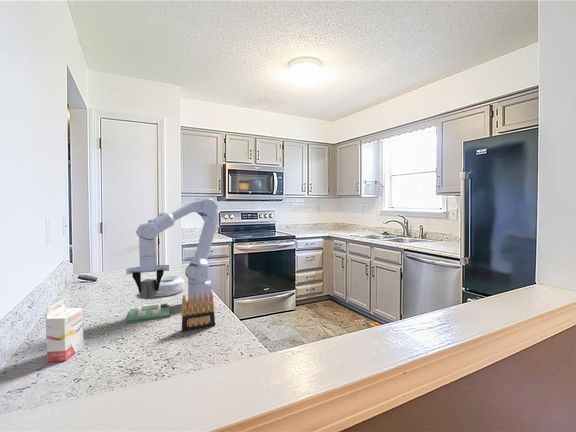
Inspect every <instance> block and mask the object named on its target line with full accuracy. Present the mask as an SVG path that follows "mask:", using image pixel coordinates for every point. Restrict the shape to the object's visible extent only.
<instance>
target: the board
mask: <svg viewBox="0 0 576 432" xmlns="http://www.w3.org/2000/svg"><path fill="white" fill-rule="evenodd" d="M170 317H171V316H170V304H168V303H162V304H161V303H153V304H146V305H140V306H139V305H138V307H137V308H131V309H129V313H128V315H127V319H126V324H131V323H137V322H139V323H140V322H144V321H145V322H146V321H151V320H158V319H159V320H160V319H166V318H170Z"/></svg>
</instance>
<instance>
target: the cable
mask: <svg viewBox="0 0 576 432" xmlns="http://www.w3.org/2000/svg"><path fill="white" fill-rule="evenodd" d="M152 279H157V277H154V278H152ZM185 287H186V284H185V281H184V278H183V277H182V276H180V275H163V276H162V278H161V281H160V284H159V291H157V295H156V296H155V297H167V296H172V295H175V294H178V293H180V292H182V291H183V290H184V289H185Z"/></svg>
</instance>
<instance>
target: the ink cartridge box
mask: <svg viewBox="0 0 576 432" xmlns="http://www.w3.org/2000/svg"><path fill="white" fill-rule="evenodd" d="M67 301H68V300H67V298H64V299H62V300H59V301H58V302H56V303H55V302H54V303H53V304H52V305H50V306H47V307H46V311H45V313H46V314H45V336H46V339H45V340H46V361H47V363H51V362H66V361H67V360H68V359H70V358H71V357H72V356H74V355H75V354H76V353H78V352H79V351H80V350H82V349H83V348H84V317H83V315H84V312H83V311H84V310H83V309H84V308H83V307H76V308H75V307H74V308H73V307H71V308H70V307H69V308H67ZM56 307H58V308H56ZM55 308H56V309H55Z"/></svg>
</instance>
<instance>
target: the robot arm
mask: <svg viewBox="0 0 576 432" xmlns="http://www.w3.org/2000/svg"><path fill="white" fill-rule="evenodd" d="M218 209H219V206H218V204H217V202H216V201H215V200H214V199H213V198H210V197H207V198H201V197H199V198H196V199H195V200H191V201H189V202H188V203H186V204H184V205H183V206H181V207H179V208H177V209H176V210H174V211H172V212H171V213H168V212H161V213H159V214H158V216H156V217H154V218H153V219H148V220H147V222H143V223H141V224H140V225H138V226H137V229H136V231H135V232H136V233H135V234H136V235H137V237H138V253H139V266H136V267H134V266H133V267H127V268H126V271H125V272H126V273H125V274H126V275H130V274H131V275H132V276H131V277H132V279H133V280H134V282H135V284H136V287H137V289H138V293H140V294H141V281H142V276H141V275H142V274H143V273H153V272H156V275H155V276H156V278H157V288H156V290H157V291H159V284H160V281H161V278H162V276H164V273H165V272H169V271H170V264H157V241H156V238H157V236H158V235H159V234H160V233H162V232H164V231H166V230H168V229H169V228H171V227H173V226H174V224H175V222H176V221H177V220H180V219H181V218H184V217H185V216H188V215H189V214H191V213H196V214H198V215H199V216H201V218H202V220H203V222H204V223H203V226H202V229H201V233H200V236H199V239H198V243H197V247H196V251H195V253H194V257H193V258H192V259H191V260H190V261H189V264H188V265H187V266H186V269H184V270H185V271H184V272H185V273H184V274H185V277H186V278H187V291H188V292H187V295H188V296H189V294H190V295H191V299H192V307H193V298H194V294H195V293H196V296H197V304H199V294H200V292H201V294H202V301H203V305H204V295H205V292H207V296H208V304H209V299H210V292H211V291H213V290H212V281H211V280H208V277H209V275H210V273H209V267H210V264H209V262H208V259H209V254H210V251H211V247H212V243H213V240H214V237H215V234H216V230H217V226H218V223H219V216H218V215H219V214H218ZM141 273H142V274H141ZM186 304H188V299H186Z"/></svg>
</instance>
